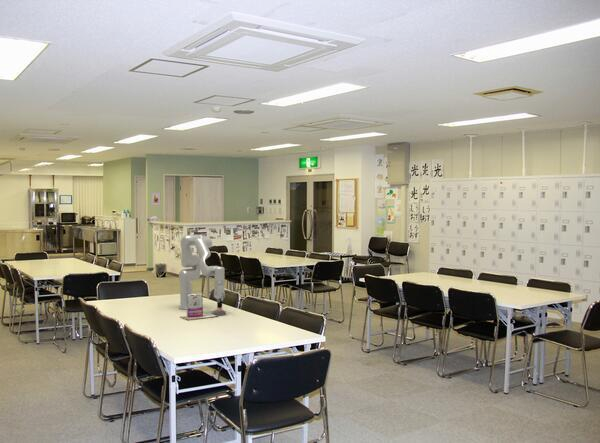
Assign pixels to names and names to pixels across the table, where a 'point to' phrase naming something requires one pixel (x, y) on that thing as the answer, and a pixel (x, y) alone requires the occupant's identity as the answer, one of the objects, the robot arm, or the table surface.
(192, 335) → the table surface
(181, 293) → the robot arm
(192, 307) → the candy bar box
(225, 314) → the button housing
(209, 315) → the clipboard
